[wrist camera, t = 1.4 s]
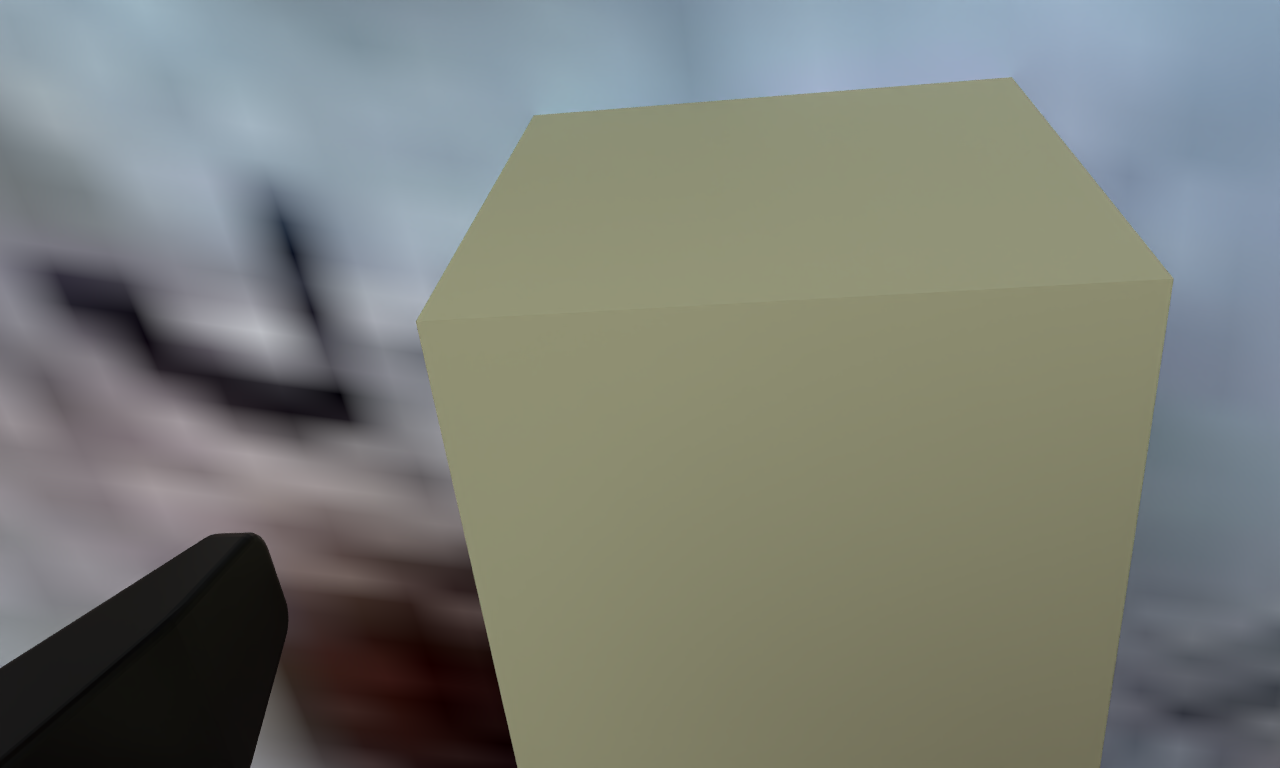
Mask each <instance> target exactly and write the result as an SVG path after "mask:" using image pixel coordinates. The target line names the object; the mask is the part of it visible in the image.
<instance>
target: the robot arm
mask: <svg viewBox="0 0 1280 768" xmlns="http://www.w3.org/2000/svg"><path fill="white" fill-rule="evenodd" d="M287 629H288V609H287V604H286V600H285V597H284V594H283V591H282V588H281V585H280V583H279V580H278V577H277V574H276V571H275V568H274V565H273V562H272V559H271V556H270V553H269V550H268V548H267V545H266V543H265V542H264V540H263V539H262V538H261V537H260V536H259V535H257V534H255V533H221V534H213V535H210V536H208V537H206V538H204V539H203V540H201V541H200V542H198V543H197V544H195V545H193V546H192V547H190V548H189V549H187V550H186V551H184V552H182V553H181V554H179V555H178V556H176V557H175V558H173V559H171V560H170V561H168V562H167V563H165V564H164V565H162V566H160V567H159V568H157V569H156V570H154V571H153V572H151V573H149V574H148V575H146V576H145V577H143V578H141V579H140V580H138V581H137V582H135V583H134V584H132V585H130V586H129V587H127V588H126V589H124V590H123V591H121V592H119V593H118V594H116V595H115V596H113V597H112V598H110V599H108V600H107V601H105V602H104V603H102V604H101V605H99V606H97V607H96V608H94V609H93V610H91V611H90V612H88V613H86V614H85V615H83V616H82V617H80V618H79V619H77V620H75V621H74V622H72V623H71V624H69V625H68V626H66V627H64V628H63V629H61V630H60V631H58V632H57V633H55V634H53V635H52V636H50V637H49V638H47V639H46V640H44V641H42V642H41V643H39V644H38V645H36V646H35V647H33V648H31V649H30V650H28V651H27V652H25V653H24V654H22V655H20V656H19V657H17V658H16V659H14V660H13V661H11V662H9V663H8V664H6V665H5V666H3V667H2V668H0V768H250V766H251V763H252V759H253V756H254V752H255V748H256V745H257V741H258V737H259V734H260V730H261V726H262V723H263V719H264V715H265V712H266V708H267V704H268V701H269V697H270V693H271V690H272V686H273V682H274V679H275V675H276V671H277V668H278V664H279V660H280V657H281V653H282V649H283V646H284V642H285V638H286V634H287Z"/></svg>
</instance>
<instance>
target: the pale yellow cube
mask: <svg viewBox="0 0 1280 768" xmlns="http://www.w3.org/2000/svg"><path fill="white" fill-rule="evenodd" d="M1172 285H1173V278H1172V276H1171V275H1170V274H1169V273H1168V271H1167V270H1166V269H1165V268H1164V266H1163V265H1162V264H1161V263H1160V261H1159V260H1158V259H1157V258H1156V256H1155V255H1154V254H1153V253H1152V251H1151V250H1150V249H1149V248H1148V246H1147V245H1146V244H1145V243H1144V241H1143V240H1142V239H1141V238H1140V236H1139V235H1138V234H1137V233H1136V231H1135V230H1134V229H1133V228H1132V227H1131V225H1130V224H1129V223H1128V222H1127V220H1126V219H1125V218H1124V217H1123V215H1122V214H1121V213H1120V212H1119V210H1118V209H1117V208H1116V207H1115V205H1114V204H1113V203H1112V202H1111V200H1110V199H1109V198H1108V197H1107V195H1106V194H1105V193H1104V192H1103V190H1102V189H1101V188H1100V187H1099V185H1098V184H1097V183H1096V182H1095V180H1094V179H1093V178H1092V177H1091V175H1090V174H1089V173H1088V172H1087V170H1086V169H1085V168H1084V167H1083V165H1082V164H1081V163H1080V162H1079V160H1078V159H1077V158H1076V157H1075V155H1074V154H1073V153H1072V152H1071V150H1070V149H1069V148H1068V147H1067V146H1066V144H1065V143H1064V142H1063V141H1062V139H1061V138H1060V137H1059V136H1058V134H1057V133H1056V132H1055V131H1054V129H1053V128H1052V127H1051V126H1050V124H1049V123H1048V122H1047V121H1046V119H1045V118H1044V117H1043V116H1042V114H1041V113H1040V112H1039V111H1038V109H1037V108H1036V107H1035V106H1034V104H1033V103H1032V102H1031V101H1030V99H1029V98H1028V97H1027V96H1026V94H1025V93H1024V92H1023V91H1022V89H1021V88H1020V87H1019V86H1018V84H1017V83H1016V82H1015V81H1014V79H1013V78H1012V77H1009V78H997V79H984V80H972V81H959V82H947V83H934V84H922V85H909V86H897V87H884V88H871V89H859V90H846V91H834V92H821V93H809V94H796V95H784V96H771V97H759V98H746V99H734V100H721V101H709V102H696V103H683V104H671V105H658V106H646V107H633V108H621V109H608V110H596V111H583V112H571V113H558V114H546V115H534V116H533V118H532V119H531V121H530V123H529V125H528V126H527V128H526V130H525V132H524V133H523V135H522V137H521V139H520V140H519V142H518V144H517V146H516V147H515V149H514V151H513V153H512V154H511V156H510V158H509V160H508V161H507V163H506V165H505V167H504V168H503V170H502V172H501V174H500V175H499V177H498V179H497V181H496V182H495V184H494V186H493V188H492V189H491V191H490V193H489V195H488V196H487V198H486V200H485V202H484V203H483V205H482V207H481V209H480V210H479V212H478V214H477V216H476V217H475V219H474V221H473V223H472V224H471V226H470V228H469V230H468V231H467V233H466V235H465V237H464V238H463V240H462V242H461V244H460V245H459V247H458V249H457V251H456V252H455V254H454V256H453V258H452V259H451V261H450V263H449V265H448V266H447V268H446V270H445V272H444V273H443V275H442V277H441V279H440V280H439V282H438V284H437V286H436V287H435V289H434V291H433V293H432V294H431V296H430V298H429V300H428V301H427V303H426V305H425V307H424V308H423V310H422V312H421V314H420V315H419V317H418V319H417V321H416V324H417V328H418V333H419V337H420V341H421V346H422V350H423V355H424V359H425V363H426V368H427V372H428V377H429V381H430V385H431V390H432V394H433V399H434V403H435V407H436V412H437V416H438V420H439V425H440V429H441V434H442V438H443V442H444V447H445V451H446V456H447V460H448V464H449V469H450V473H451V477H452V482H453V486H454V491H455V495H456V499H457V504H458V508H459V513H460V517H461V521H462V526H463V530H464V535H465V539H466V543H467V548H468V552H469V556H470V561H471V565H472V570H473V574H474V578H475V583H476V587H477V592H478V596H479V600H480V605H481V609H482V613H483V618H484V622H485V627H486V631H487V635H488V640H489V644H490V649H491V653H492V657H493V662H494V666H495V671H496V675H497V679H498V684H499V688H500V692H501V697H502V701H503V706H504V710H505V714H506V719H507V723H508V728H509V732H510V736H511V741H512V745H513V750H514V754H515V758H516V763H517V767H518V768H1100V763H1101V756H1102V750H1103V743H1104V736H1105V730H1106V723H1107V717H1108V710H1109V703H1110V697H1111V690H1112V683H1113V677H1114V670H1115V663H1116V657H1117V650H1118V644H1119V637H1120V630H1121V624H1122V617H1123V610H1124V604H1125V597H1126V590H1127V584H1128V577H1129V571H1130V564H1131V557H1132V551H1133V544H1134V537H1135V531H1136V524H1137V517H1138V511H1139V504H1140V498H1141V491H1142V484H1143V478H1144V471H1145V464H1146V458H1147V451H1148V444H1149V438H1150V431H1151V425H1152V418H1153V411H1154V405H1155V398H1156V391H1157V385H1158V378H1159V372H1160V365H1161V358H1162V352H1163V345H1164V338H1165V332H1166V325H1167V318H1168V312H1169V305H1170V299H1171V292H1172Z"/></svg>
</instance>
